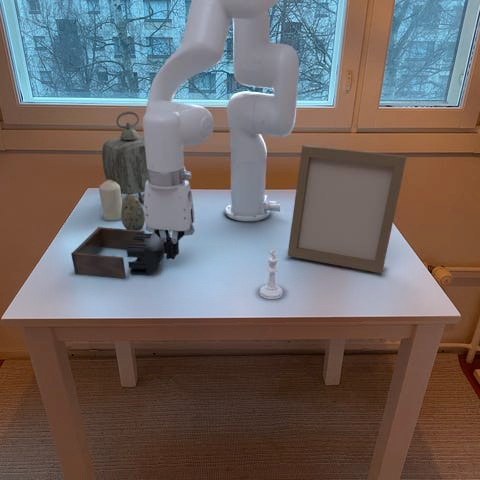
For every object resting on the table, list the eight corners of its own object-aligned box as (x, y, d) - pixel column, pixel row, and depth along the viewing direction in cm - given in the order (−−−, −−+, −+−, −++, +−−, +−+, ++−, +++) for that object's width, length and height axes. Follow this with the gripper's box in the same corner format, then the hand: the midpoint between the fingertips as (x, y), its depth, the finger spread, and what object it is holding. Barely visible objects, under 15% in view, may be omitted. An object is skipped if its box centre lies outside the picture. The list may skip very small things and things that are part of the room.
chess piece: (266, 301, 101) (269, 257, 95) (255, 290, 104) (256, 247, 99) (287, 295, 103) (290, 252, 97) (275, 285, 106) (277, 243, 101)
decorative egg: (121, 228, 130) (116, 191, 124) (143, 225, 132) (139, 189, 126) (125, 237, 125) (120, 199, 120) (148, 234, 127) (144, 196, 121)
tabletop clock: (149, 191, 153) (141, 105, 139) (166, 199, 147) (159, 111, 133) (108, 202, 145) (94, 112, 131) (124, 211, 139) (112, 118, 125)
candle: (105, 213, 138) (99, 178, 133) (124, 212, 139) (120, 177, 133) (102, 221, 134) (96, 185, 128) (122, 220, 134) (118, 184, 128)
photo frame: (380, 277, 110) (402, 164, 96) (287, 259, 116) (294, 152, 102) (389, 249, 121) (410, 145, 107) (303, 235, 128) (312, 135, 113)
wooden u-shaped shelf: (146, 249, 120) (144, 230, 117) (124, 279, 108) (121, 258, 105) (101, 245, 121) (98, 226, 118) (75, 273, 109) (71, 253, 107)
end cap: (160, 277, 109) (158, 249, 105) (129, 275, 109) (125, 247, 105) (169, 256, 117) (167, 230, 113) (140, 255, 117) (137, 228, 113)
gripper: (206, 172, 102) (208, 252, 113) (137, 168, 104) (145, 246, 115) (197, 184, 96) (200, 267, 107) (124, 179, 98) (134, 261, 109)
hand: (172, 256), depth 111 cm, fingers closed
